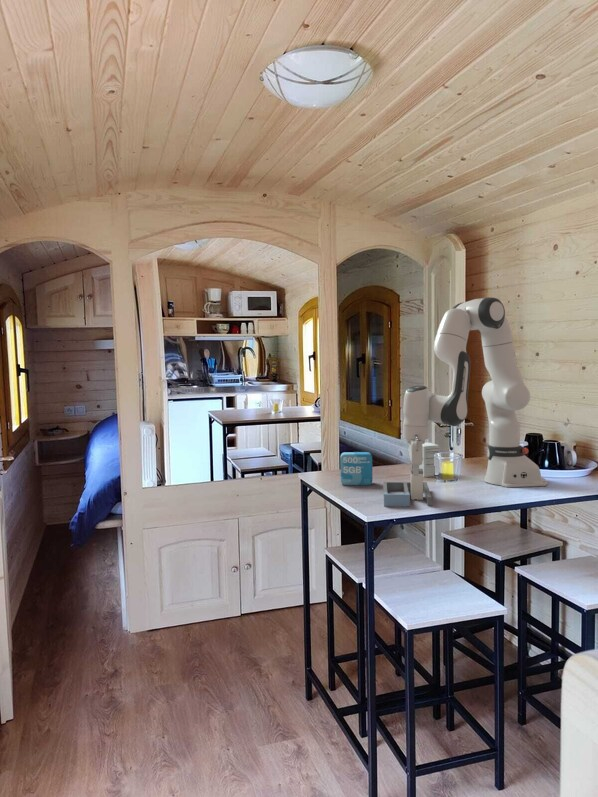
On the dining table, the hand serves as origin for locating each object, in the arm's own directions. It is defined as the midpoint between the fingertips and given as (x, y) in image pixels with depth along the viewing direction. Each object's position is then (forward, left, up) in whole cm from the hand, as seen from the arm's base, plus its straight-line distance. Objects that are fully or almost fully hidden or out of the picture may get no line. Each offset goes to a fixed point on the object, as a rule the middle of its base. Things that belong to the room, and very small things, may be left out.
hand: (415, 472), depth 209 cm
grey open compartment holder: (+3, 0, -9) cm, 9 cm away
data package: (+21, -20, -9) cm, 30 cm away
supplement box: (-7, -37, -9) cm, 39 cm away
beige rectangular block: (-1, 0, -9) cm, 9 cm away
